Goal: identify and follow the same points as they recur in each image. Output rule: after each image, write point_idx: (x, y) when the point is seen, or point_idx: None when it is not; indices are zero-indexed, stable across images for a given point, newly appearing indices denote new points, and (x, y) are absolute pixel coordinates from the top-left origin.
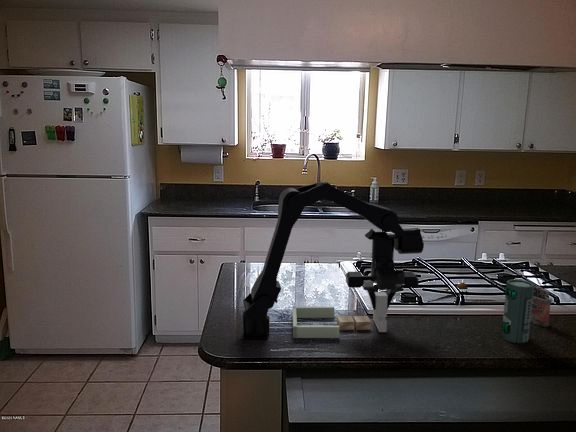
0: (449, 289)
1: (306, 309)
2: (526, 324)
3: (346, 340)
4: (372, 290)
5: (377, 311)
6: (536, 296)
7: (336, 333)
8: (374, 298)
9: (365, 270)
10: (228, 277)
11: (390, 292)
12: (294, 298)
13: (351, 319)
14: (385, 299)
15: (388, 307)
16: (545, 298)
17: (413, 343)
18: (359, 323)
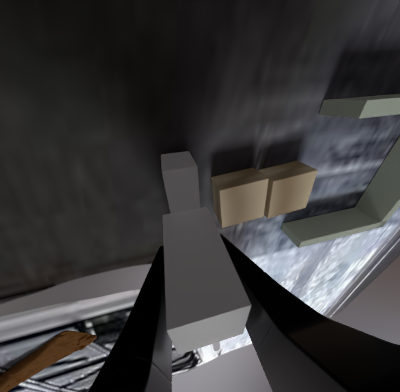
0: (10, 384)
1: (356, 224)
2: None
3: (310, 77)
4: (356, 363)
5: (207, 223)
6: None
7: (347, 99)
8: (250, 282)
9: (187, 357)
10: (358, 291)
11: (139, 390)
12: (314, 270)
13: (276, 195)
14: (179, 294)
15: (155, 256)
16: None
17: (14, 48)
18: (255, 178)
